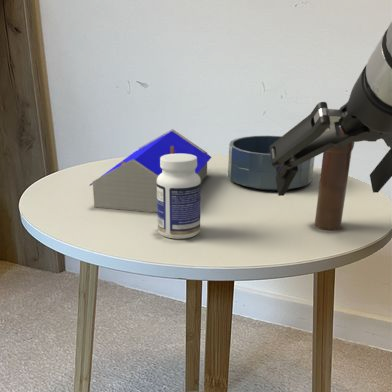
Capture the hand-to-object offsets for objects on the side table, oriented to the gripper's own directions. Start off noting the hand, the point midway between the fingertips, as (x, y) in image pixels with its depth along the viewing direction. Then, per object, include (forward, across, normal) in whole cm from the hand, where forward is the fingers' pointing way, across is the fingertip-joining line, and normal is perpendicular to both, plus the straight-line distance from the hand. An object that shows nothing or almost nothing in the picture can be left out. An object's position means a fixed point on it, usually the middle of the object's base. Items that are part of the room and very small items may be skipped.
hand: (327, 185), depth 82 cm
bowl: (+19, -2, +11) cm, 22 cm away
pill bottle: (+3, -21, -5) cm, 22 cm away
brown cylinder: (+2, 0, -5) cm, 6 cm away
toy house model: (+17, -22, +9) cm, 29 cm away
